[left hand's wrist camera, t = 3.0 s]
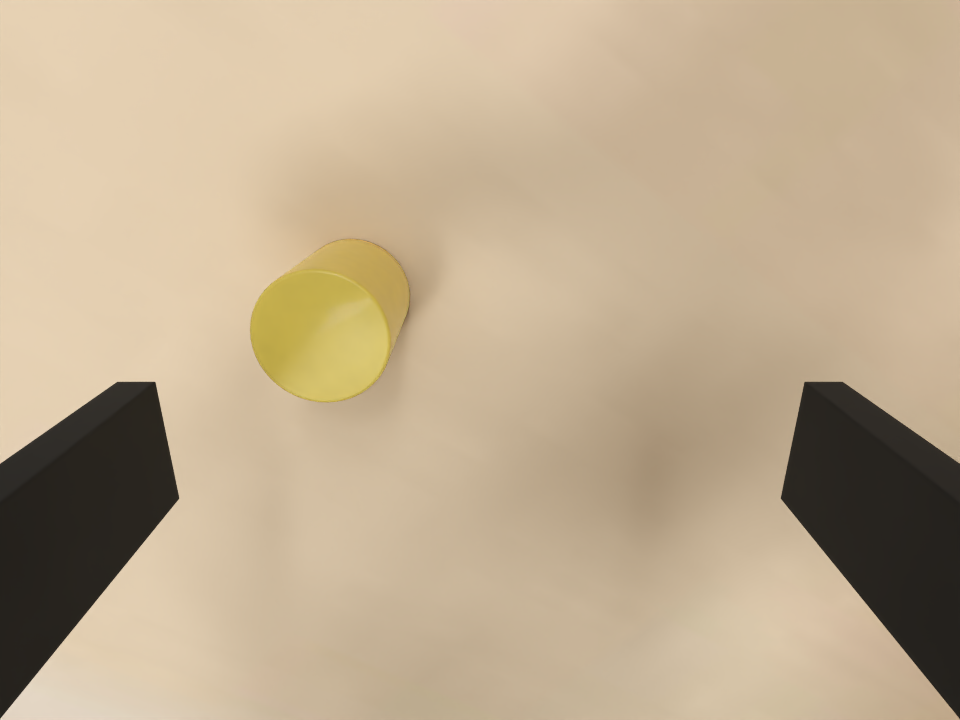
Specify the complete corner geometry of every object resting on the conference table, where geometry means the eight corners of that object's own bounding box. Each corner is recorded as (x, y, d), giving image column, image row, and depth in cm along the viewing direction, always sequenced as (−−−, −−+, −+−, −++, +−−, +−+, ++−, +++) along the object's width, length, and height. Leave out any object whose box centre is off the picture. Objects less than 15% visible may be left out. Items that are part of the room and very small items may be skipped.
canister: (412, 344, 21) (395, 402, 16) (306, 346, 21) (259, 404, 16) (406, 237, 20) (385, 267, 15) (293, 239, 20) (239, 270, 15)
